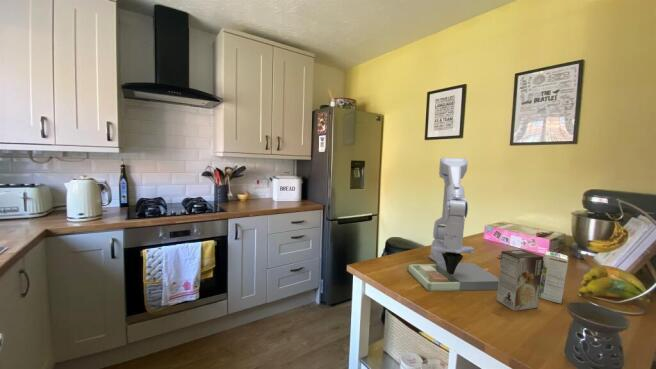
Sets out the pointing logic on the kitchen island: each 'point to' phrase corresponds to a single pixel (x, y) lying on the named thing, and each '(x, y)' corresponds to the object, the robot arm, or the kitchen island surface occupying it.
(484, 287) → the slate board
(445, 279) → the peach square block
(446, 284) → the tray
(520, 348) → the kitchen island surface
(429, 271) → the tile
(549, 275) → the syrup box
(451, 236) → the robot arm
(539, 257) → the coffee box
